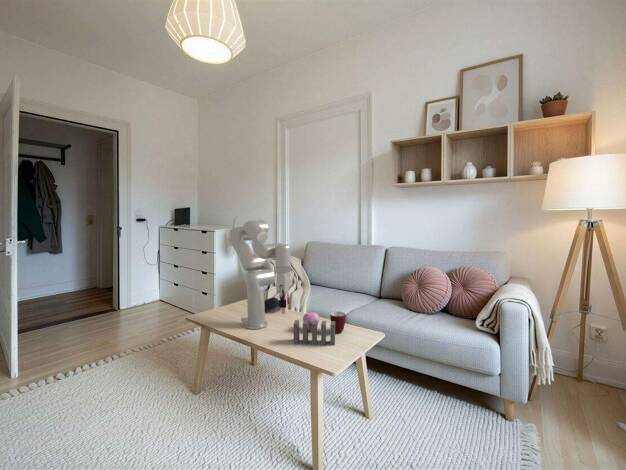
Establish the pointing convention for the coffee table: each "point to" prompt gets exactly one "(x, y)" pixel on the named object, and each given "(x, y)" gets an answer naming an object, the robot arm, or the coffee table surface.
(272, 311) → the crystal cluster
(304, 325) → the domino
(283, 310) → the rose domino
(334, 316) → the mug
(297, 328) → the domino
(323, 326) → the domino
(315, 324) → the domino
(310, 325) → the cupcake
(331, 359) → the coffee table surface
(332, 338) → the domino
